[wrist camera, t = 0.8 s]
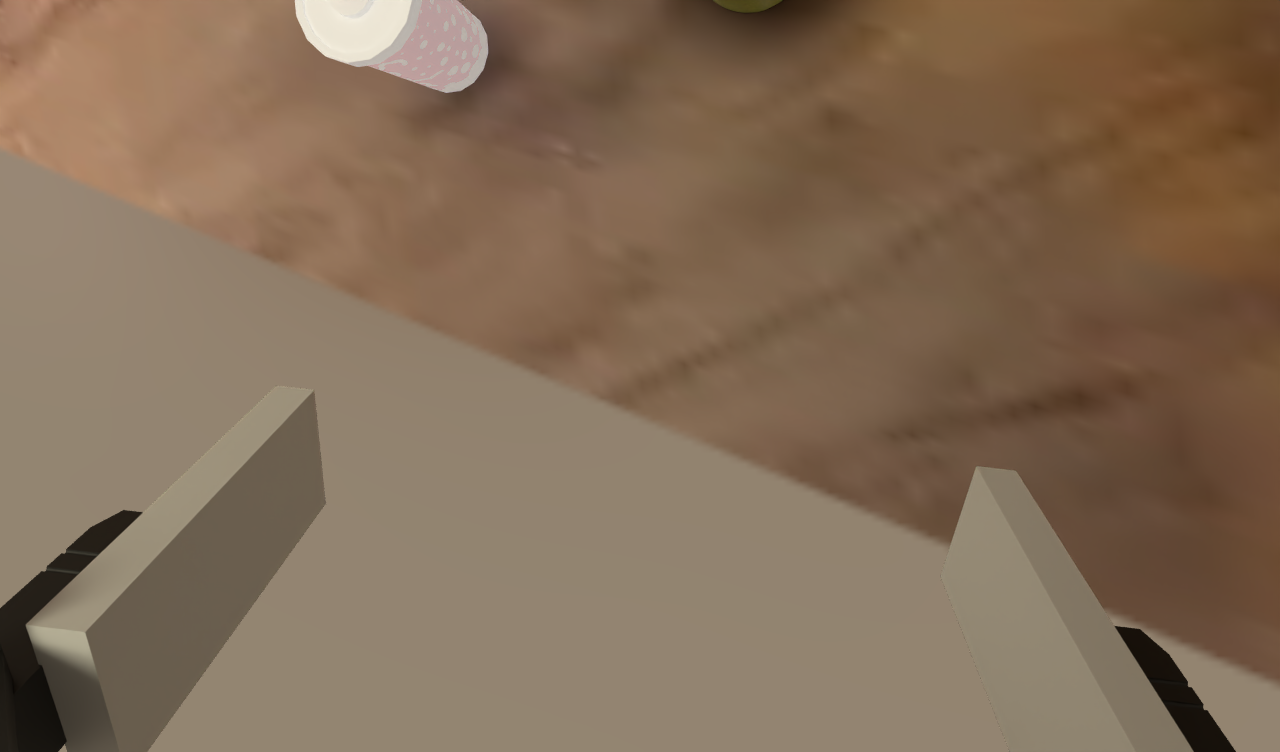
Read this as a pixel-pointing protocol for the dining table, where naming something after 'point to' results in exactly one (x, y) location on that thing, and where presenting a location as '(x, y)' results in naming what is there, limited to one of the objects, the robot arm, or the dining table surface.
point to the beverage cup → (400, 38)
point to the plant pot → (747, 5)
